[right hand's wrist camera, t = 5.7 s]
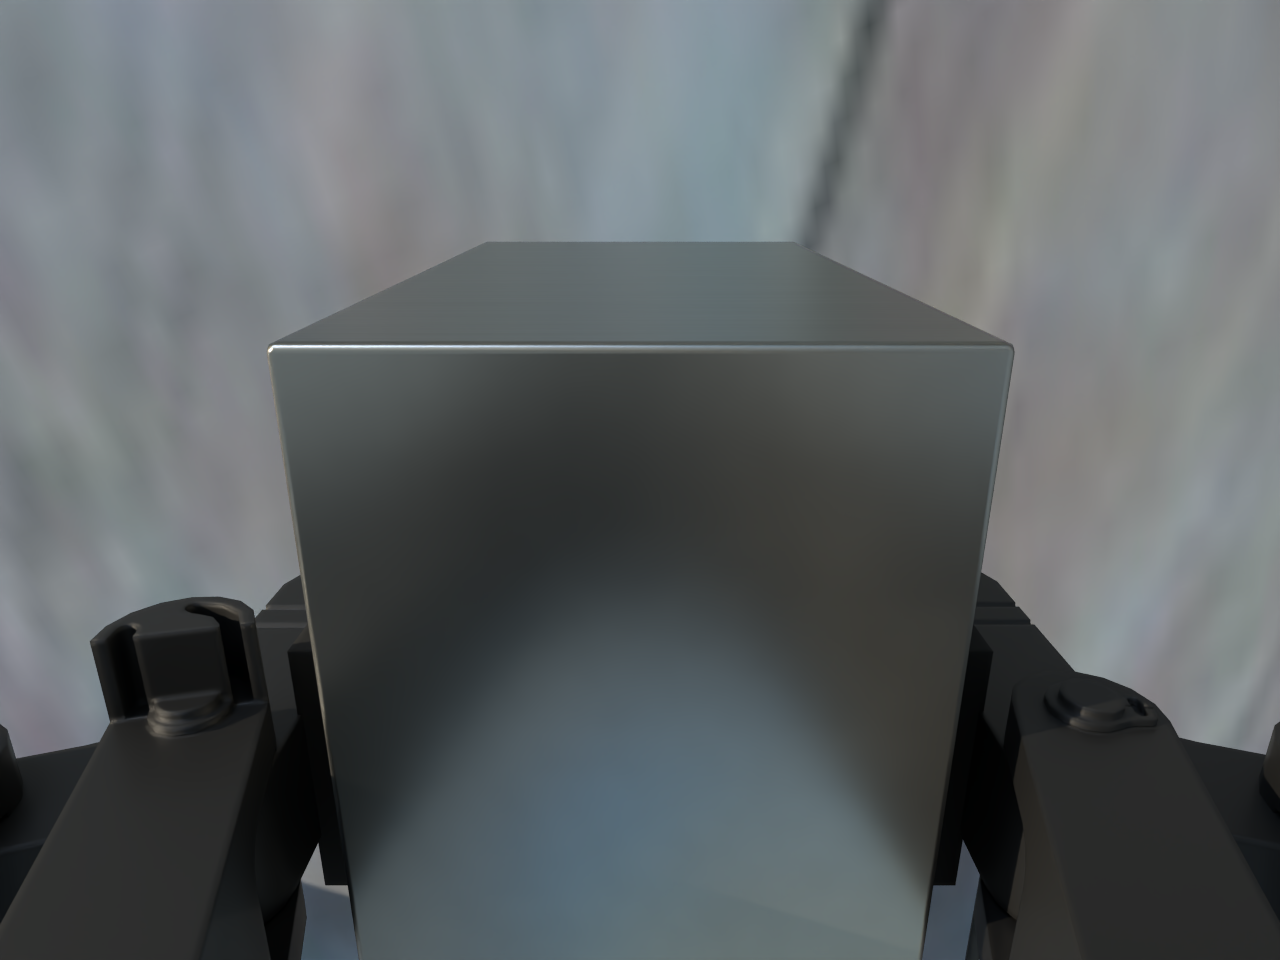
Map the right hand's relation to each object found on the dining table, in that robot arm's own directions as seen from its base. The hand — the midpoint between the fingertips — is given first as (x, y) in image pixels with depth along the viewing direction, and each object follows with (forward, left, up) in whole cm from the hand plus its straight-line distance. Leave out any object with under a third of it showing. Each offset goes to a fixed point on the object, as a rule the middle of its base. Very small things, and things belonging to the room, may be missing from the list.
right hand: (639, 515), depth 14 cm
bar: (+4, +13, -1) cm, 14 cm away
